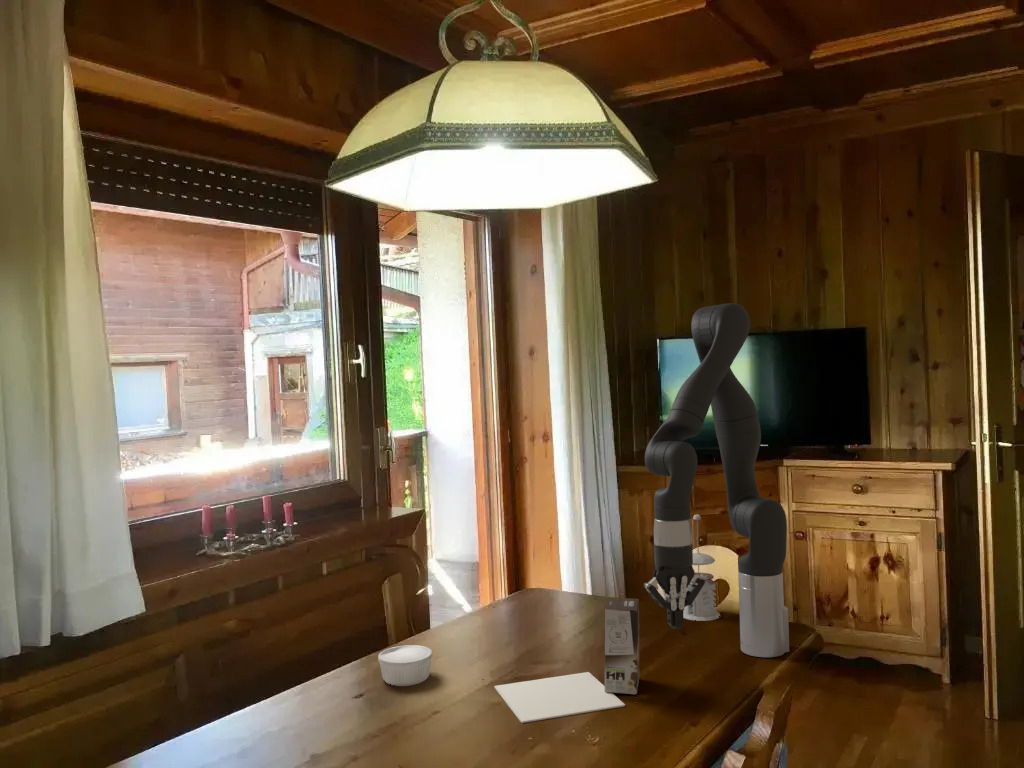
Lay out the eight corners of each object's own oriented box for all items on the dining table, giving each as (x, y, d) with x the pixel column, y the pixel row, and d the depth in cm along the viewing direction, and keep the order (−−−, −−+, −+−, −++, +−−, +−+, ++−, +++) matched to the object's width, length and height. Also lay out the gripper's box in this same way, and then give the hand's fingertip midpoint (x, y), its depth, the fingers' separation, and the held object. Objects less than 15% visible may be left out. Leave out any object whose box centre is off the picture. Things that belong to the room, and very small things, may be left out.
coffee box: (637, 695, 162) (637, 610, 162) (603, 692, 164) (603, 608, 163) (640, 678, 171) (640, 597, 171) (608, 676, 173) (607, 596, 172)
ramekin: (401, 665, 184) (400, 641, 184) (444, 673, 178) (443, 648, 178) (367, 683, 174) (366, 658, 174) (411, 692, 169) (410, 665, 169)
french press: (728, 613, 212) (724, 513, 212) (703, 625, 204) (700, 520, 203) (693, 606, 219) (690, 509, 218) (668, 617, 210) (664, 516, 210)
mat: (588, 673, 175) (588, 671, 175) (625, 706, 158) (624, 704, 158) (494, 687, 169) (494, 685, 169) (521, 723, 152) (521, 721, 152)
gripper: (693, 534, 176) (696, 618, 176) (634, 540, 172) (637, 626, 172) (712, 541, 169) (714, 628, 169) (651, 547, 165) (653, 637, 165)
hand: (675, 627), depth 171 cm, fingers closed
